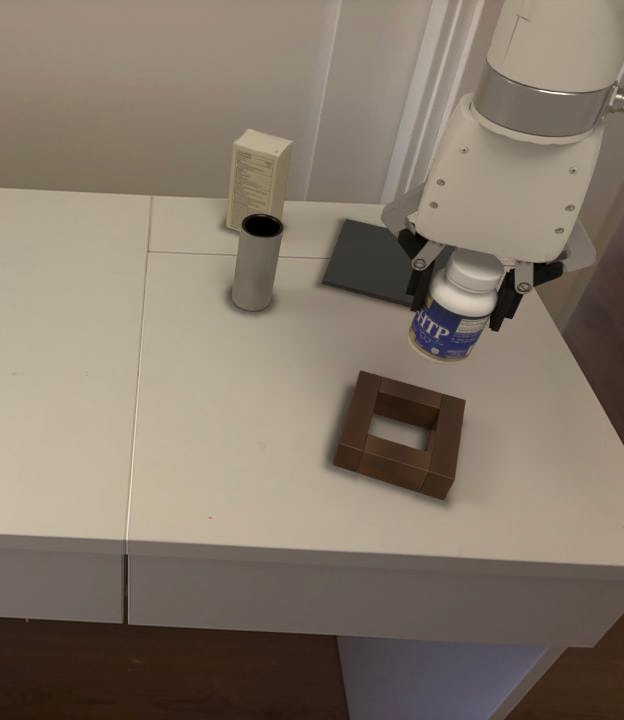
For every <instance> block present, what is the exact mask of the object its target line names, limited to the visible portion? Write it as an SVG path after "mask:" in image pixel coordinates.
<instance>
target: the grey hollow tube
mask: <svg viewBox="0 0 624 720" xmlns="http://www.w3.org/2000/svg"><path fill="white" fill-rule="evenodd" d="M284 229H285V228H284V224H283V222H282V220H281V221H280V220H279V219H277V218H276V217H274V216H271V215H268V214H252V215H249V216H247V217H245V218H244V219H243V220H242V222H241V229H240V232H239V236H238V237H239V238H238V244H237V250H236V251H237V252H236V259H235V260H236V262H235V267H234V275H233V281H232V282H233V283H232V289H231V300H232V302H233V304H235V306H237V307H238V308H240V309H241V310H244V311H251V312H258V311H262V310H264V309H266V308H267V307H269V305H270V304H271V301H272V300H271V299H272V296H273V289H274V285H275V279H276V272H277V268H278V262H279V258H280V252H281V246H282V240H283V235H284Z"/></svg>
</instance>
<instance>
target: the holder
mask: <svg viewBox="0 0 624 720" xmlns="http://www.w3.org/2000/svg"><path fill="white" fill-rule="evenodd" d="M466 402H467V401H466V399H463V398H460V397H457V396H453V395H450V394H446V393H442V392H439V391H436V390H433V389H429V388H425V387H422V386H419V385H418V386H417V385H415V384H410V383H407V382H404V381H401V380H398V379H393V378H390V377H387V376H386V377H385V376H382V375H379V374H376V373H372V372H369V371H365V370H359V372H358V376H357V379H356V382H355V385H354V388H353V391H352V394H351V397H350V401H349V405H348V409H347V412H346V416H345V419H344V423H343V426H342V428H341V429H342V430H341V433H340V436H339V440H338V443H337V447H336V450H335V454H334V457H333V461H332V465H333V466H335V467H339V468H342V469H346V470H347V471H351V472H355V473H357V474H359V475H363V476H366V477H370V478H373V479H376V480H379V481H382V482H385V483H388V484H392V485H394V486H398V487H401V488H404V489H407V490H410V491H413V492H417V493H420V494H423V495H425V496H429V497H432V498H435V499H438V500H442V501H445V499H446V497H447V495H448V494H449V491H450V489H451V488H452V486H453V484H454V482H455V479H456V472H457V465H458V458H459V451H460V444H461V438H462V437H461V436H462V431H463V423H464V416H465V409H466ZM373 414H375V415H379V416H382V417H385V418H389V419H392V420H394V421H395V420H396V421H399V422H402V423H406V424H409V425H413V426H415V427H419V428H422V429H426V430H428V431H429V436H428V440H427V441H428V442H427V447H426V451H425V450H422V449H418V448H415V447H412V446H409V445H405V444H402V443H398V442H395V441H392V440H388V439H386V438H382V437H379V436H376V435H373V434H370V433H369V430H370V425H371V422H372V419H373Z"/></svg>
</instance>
